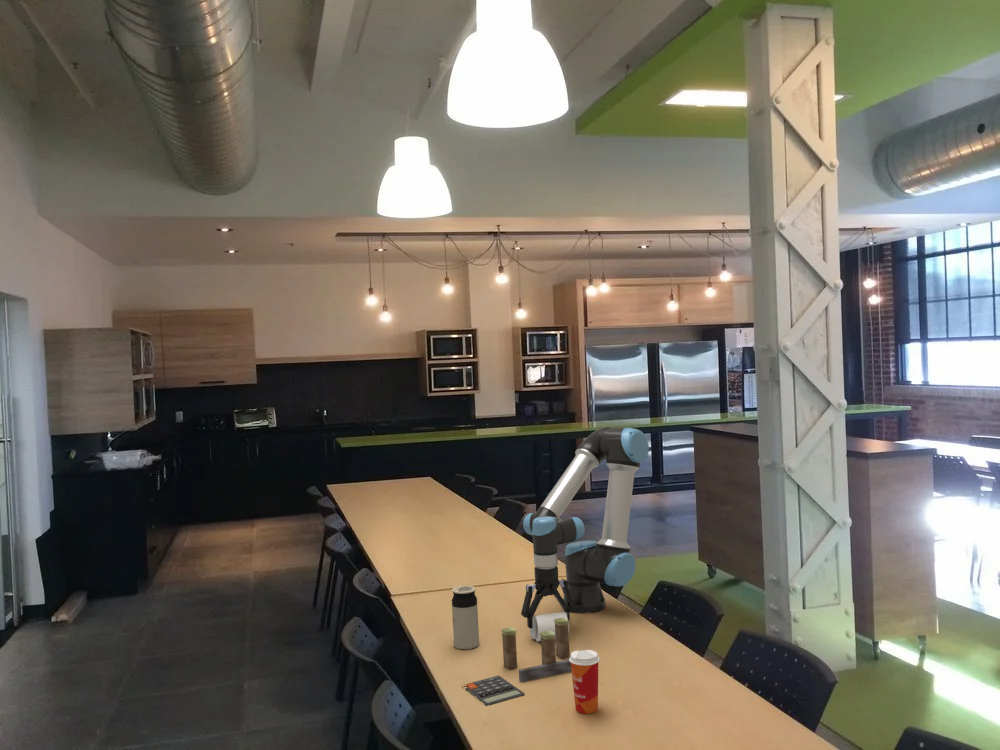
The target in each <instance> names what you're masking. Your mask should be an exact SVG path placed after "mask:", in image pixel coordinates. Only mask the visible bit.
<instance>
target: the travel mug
mask: <svg viewBox="0 0 1000 750" xmlns="http://www.w3.org/2000/svg"><path fill="white" fill-rule="evenodd" d="M476 589H477V588H476V587H475V586H473V585H459V586H456V587H453V588H452V589H451V591H452V593H453V596H452V599H451V610H452V611H451V612H452V629H453V630H452V631H453V633H452V634H453V646H454V648H455V649H458V650H463V649H464V650H471V649H472V648H473V649H475V648H477V647H478V646H479V645H480V633H479V632H480V629H479V613H478V612H479V611H478V609H479V608H478V597H477V596H476Z"/></svg>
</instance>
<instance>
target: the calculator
mask: <svg viewBox="0 0 1000 750" xmlns="http://www.w3.org/2000/svg"><path fill="white" fill-rule="evenodd" d="M465 684H466V686H464V687H467V688H466V689H467V690H468V691H469V692H471V693H472V694H473V695H474V696H476V697H477V698H478V699H479V700H478V699H477V698H476V697H475V698H476V699H477V700H478V701H479V702H481V701H482V702H483V703H484V704H483V703H482V702H481V703H482V704H483V705H485V706H487V707H488V705H489V706H492V705H496V704H499V703H502V702H503V703H504V702H505V701H510V700H512V699H516V698H520V697H523V696H525V692H523V691H522V690H521V689H519V688H517V687H516V686H515V685H513V684H512V683H511V682H509V681H508V680H506V679H504V678H503V677H502V676H500V675H496V676H492V677H487V678H483V679H479V680H476V681H473V682H469V683H465ZM465 684H463V685H465ZM467 690H466V691H467ZM468 691H467V692H468ZM469 692H468V693H469ZM471 693H470V694H471ZM472 694H471V695H472ZM473 695H472V696H473ZM474 696H473V697H474Z"/></svg>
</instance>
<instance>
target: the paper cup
mask: <svg viewBox="0 0 1000 750" xmlns="http://www.w3.org/2000/svg"><path fill="white" fill-rule="evenodd" d="M568 659H569V661H570V662H571V671H572V672H571V679H572V680H571V681H572V688H573V700H574V706H575V710H576V712H577V713H579V714H582V715H589V714H591V715H592V714H594V713H597V711H598V709H599V708H598V707H599V662H600V657H599V654H598V653H597V652H596V651H595V650H591V649H585V650H584V649H580V650H573V652H571V653H570V657H568Z"/></svg>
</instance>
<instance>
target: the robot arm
mask: <svg viewBox="0 0 1000 750" xmlns="http://www.w3.org/2000/svg"><path fill="white" fill-rule="evenodd" d="M649 449H650V446H649V441H648V438H647V437H646V434H644V432H643V431H642V430H639V429H638V428H631V427H611V426H605V427H601V428H598V429H597V430H594V431H593V432H591V434H589V435H588V436H587V437H586V438H585V439H584V440H583V441H582V442H581V443H580V444H579V446H578V447H577V449H576V450H575V451H574V453H575V456H574V458H573V459H572V461H571V462H570V464H569V465H568V466H567V467H566V469H565V470H564V472H563V474H561V476H560V478H558V480H557V482H556V484H555V485H554V486H553V488H552V489H551V491H550V492H549V493H548V495H547V496H546V498H545V499H544V500H543V502H542V504H541V505H540V506H539V508H538V509H537V511H536V512H531V513H528V514H526V515H525V516H524V519H523V523H522V524H523V526H522V527H523V530H524V531H525V533H526V534H528V535H530V536H532V545H533V564H534V566H535V567H534V568H533V569H534V582H533V583H534V584H526V585H525V596H524V600H523V604H522V607H521V611H520V615H521V616H522V617H523V618H526V626H527V628H528V629H529V631H530V633H529V634H530V638H532V639H533V640H536V627H535V618H534V617H533V616H535V615H536V614H535V613H536V612H537V609H538V607H539V606H540V603H541V601H542V600H543V598H544V597H548V596H554V598H555V599H556V600H557V603H559V605H560V606H561V608H562V610H561V611H560V612H565V614H566V615H567V618H568V620H569V621H571V620H570V613H579V614H584V613H585V614H590V613H596V612H599V610H600V611H602V610H604V609H605V607H606V599H605V596H604V593H603V590H602V587H601V585H600V584H603V585H604V584H605V585H606V586H607V585H608V586H611V587H613V586H614V587H624V586H626V585H627V584H628V583H629V582H630V581H631V580H632V578H633V576H634V574H635V572H636V565H637V564H636V560H635V557H634V556H633V554H631V546H630V545H629V544H628V542H627V540H628V532H629V522H630V513H631V506H632V504H631V503H632V499H633V498H632V496H633V491H634V490H633V487H634V481H635V473H636V472H637V471H639V469H640V467H641V463H642V462H644V461H645V460H646V459H647V457H648V456H649V452H650V451H649ZM603 461H606V462H605V464H606V466H607V467H608V469H609V473H608V474H609V475H608V483H607V491H606V492H607V493H606V499H605V506H604V507H605V508H604V517H603V524H602V533H601V539H599V540H598V541H596V540H581V539H582V538H584V535H585V533H586V532H585V531H586V529H585V524H584V522H583V520H582V519H581V518H579V517H576V516H575V517H574V516H573V517H568V518H565V517H564V518H563V517H562V515H563V513H564V512H565V511H566V509H567V507H568V506H569V505H570V503H571V501H572V500H573V498H574V497H575V496H576V494H577V493H578V491H579V490H580V488H581V487H582V486H583V484H584V483H585V481H586V479H587V478H588V476H589V475H590V473H591V472H592V470H593V469H595V468H598V467H599V466H600V464H601V463H602V462H603ZM578 540H579V541H578ZM580 540H581V541H580ZM567 543H568V544H567ZM563 544H567V545H566V546H565V551H564V552H565V553H564V560H565V577H566V579H564V578H562V579H559V567H558V545H563ZM559 586H560V587H561V591H562V593H563V596H562V595H561V594H560V592H559V591H558V587H559ZM535 590H536V591H535ZM534 592H535V594H534ZM533 594H534V598H533ZM532 598H533V599H532Z"/></svg>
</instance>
